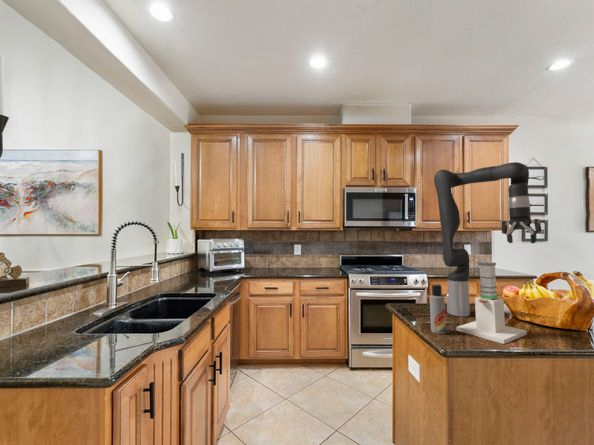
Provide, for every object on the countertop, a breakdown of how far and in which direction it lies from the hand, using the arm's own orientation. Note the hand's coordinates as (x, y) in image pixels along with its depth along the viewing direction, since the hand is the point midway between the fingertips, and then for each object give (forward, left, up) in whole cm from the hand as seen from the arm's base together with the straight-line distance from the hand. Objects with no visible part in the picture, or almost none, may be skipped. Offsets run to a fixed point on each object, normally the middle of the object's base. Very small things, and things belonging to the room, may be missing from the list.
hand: (521, 243), depth 127 cm
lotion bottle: (-16, -39, -37) cm, 55 cm away
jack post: (-4, -22, -27) cm, 35 cm away
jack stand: (-4, -22, -36) cm, 42 cm away
